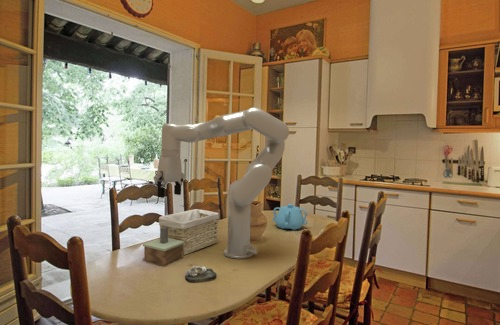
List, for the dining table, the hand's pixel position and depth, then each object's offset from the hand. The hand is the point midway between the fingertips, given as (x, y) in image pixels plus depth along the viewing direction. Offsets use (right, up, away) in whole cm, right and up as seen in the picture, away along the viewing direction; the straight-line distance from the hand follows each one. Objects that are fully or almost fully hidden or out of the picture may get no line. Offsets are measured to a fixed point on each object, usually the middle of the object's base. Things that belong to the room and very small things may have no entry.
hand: (169, 195), depth 131 cm
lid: (-1, -20, -3) cm, 21 cm away
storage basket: (+5, -25, +15) cm, 29 cm away
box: (-2, -25, -2) cm, 25 cm away
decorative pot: (+55, -24, +51) cm, 79 cm away
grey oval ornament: (+16, -27, -18) cm, 36 cm away
